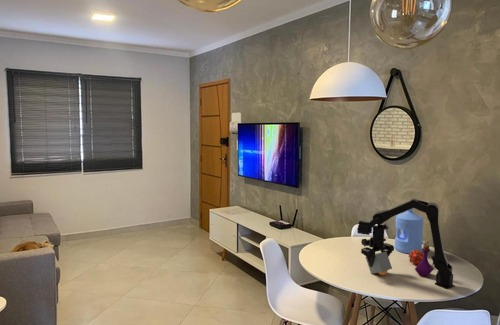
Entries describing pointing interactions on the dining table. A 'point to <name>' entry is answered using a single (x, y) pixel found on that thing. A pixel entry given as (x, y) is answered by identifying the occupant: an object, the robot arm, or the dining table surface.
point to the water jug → (409, 232)
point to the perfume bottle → (424, 262)
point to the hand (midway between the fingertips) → (377, 265)
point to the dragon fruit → (415, 257)
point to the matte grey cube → (380, 263)
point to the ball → (383, 273)
